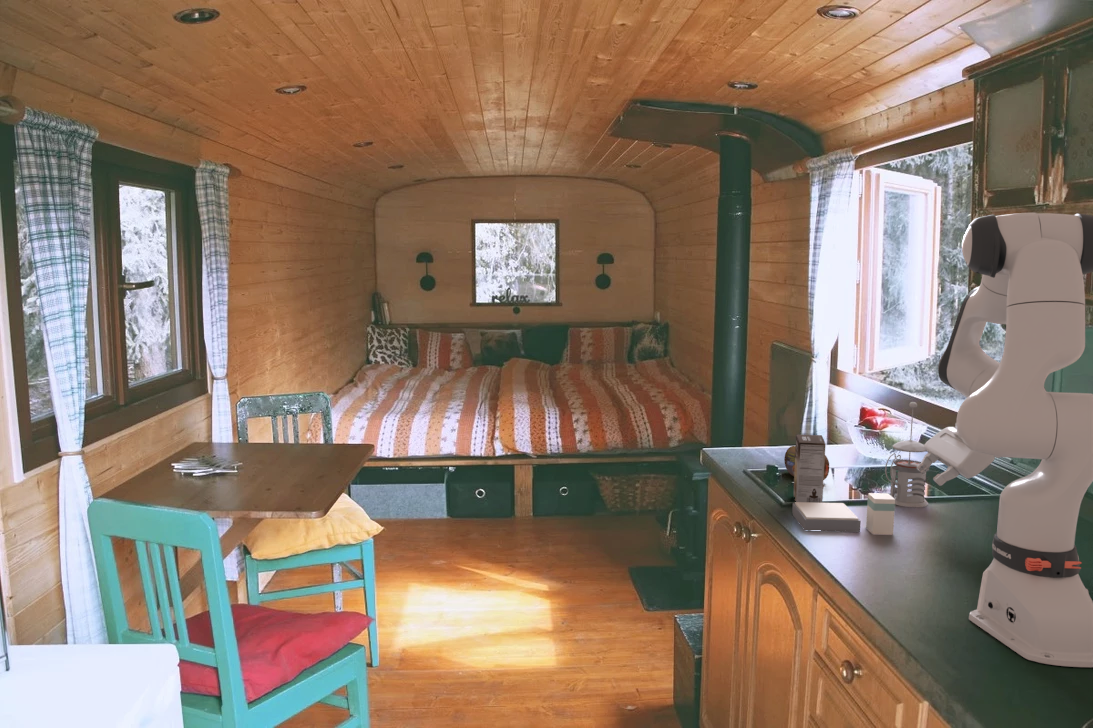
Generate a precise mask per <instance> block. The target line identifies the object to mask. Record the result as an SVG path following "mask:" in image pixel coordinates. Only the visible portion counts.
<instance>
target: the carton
mask: <svg viewBox="0 0 1093 728" xmlns="http://www.w3.org/2000/svg"><path fill="white" fill-rule="evenodd" d="M866 501H867V507H866V508H867V509H866V525H865V529H866V530H868V531H869V533H871V534H872V535H875V536H876V535H880V536H881V535H884V536H893V535H894V527H895V525H894V524H895V511H896V504H895V499H894V498H893V497H892V496H891V495H890V494H889V493H883V492H882V493H881V492H879V493H877V492H876V493H875V492H874V493H873V492H869V493H868V492H867V500H866Z"/></svg>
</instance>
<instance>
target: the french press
mask: <svg viewBox="0 0 1093 728" xmlns="http://www.w3.org/2000/svg"><path fill="white" fill-rule="evenodd" d="M908 407H909V408H912V410H911V423H910V426H911V427H910V436H909V437H910V439H909V440H907V439H906V440H901V441H898V442H896V443H894V444H892V447H893V449H894V450H895V451H900V452H904V453H909V455H908V459H905V458H904V459H901V458H902V455H901V454H898V455H897V456H896V453H892V454H890V455H889V457H888V458H887V461H886V463H885V468H884V473H885V477H886V479H887V480H888V481H889V482H890V494H889V495H891V496H892V497H893V498H894V499H895V506H896V505H897V506H900V507H907V508H923V507H927V506H928V505H929V502H928V501H927V500H926V499H925V495H926V492H925V491H926V487H925V486H926V480H927V472H926V473H924V474H922V473H921V472H920V471H919V470H918V469H917V468H916V467H917V466H918V465H919V464H920V463H921V462H922V461H918V460H914V459H913V460H912V459H911V453H924V452H925V453H926V452H927V451H926V450H925V449H924V445H925V443H921V442H919V441H917V440H913V439H912V434H913V418H914V408H917V407H918V403H917V402H915V401H911V402H910V403H908ZM893 455H894V459H893V460H892V462H891V465H890V469H889V470H890V471H889V472H890V474H889V475H890V478H891V479H889V476H888V474H887V471H888V470H887V468H888V467H887V466H888V463H889V460H890V459H891V457H892V456H893ZM898 457H899V458H898ZM897 471H898V472H897ZM909 480H910V481H909ZM909 485H910V486H909ZM896 486H897V487H896ZM908 490H909V491H908Z"/></svg>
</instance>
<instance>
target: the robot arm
mask: <svg viewBox="0 0 1093 728" xmlns="http://www.w3.org/2000/svg"><path fill="white" fill-rule="evenodd" d="M961 250H962V255H963V258H964V261H965V264H966V267H967V268H969V269H970V270H971V271H972V272H973V273H976V274H980V275H982V276H981V281H980V285H979V286H976V287H975V288H973V289H972V290H970V291H969V292H968V294H967V295H966V296H965V298H964V300H963V301H962V304H961V306H960V308H959V312H958V315H957V316H956V317H957V318H956V320H955V323H954V326H953V329H952V331H951V334H950V338H949V341H948V344H947V347H946V348H945V350H944V352H943V353H942V355H941V357H940V360H939V361H938V365H937V368H938V370H937V373H938V377H939V380H940V381H941V382H942V383H943V384H945V385H946V386H948V387H950V388H951V389H954V390H955V391H957V392H958V393H960V394H961V395H963V396H964V397H966V398H965V399H964V400H963V402H962V403H961V405H960V406H959V408H958V411H957V416H956V422H955V424H954V425H955V426H947V427H945V428H942V429H941V430H939V431H938V432H937V433H935V435H933V436H932V437H931V438H929V439H928V440H927V441H926V442H925V443H924V449H925V450H926V452H927V453H926V454H925V455H924V456H923V459H922V460H921V461H920V462H921V463H920V464H919V465H918V466H917V467H916V468H917V469H918V470H919V471H920V472H921V473H922V474H924V473H926V474H927V472H928V471H930V467H931V466H932V464H935V463H936V462H937V461H938V462H940V463H942V464H943V465H944V466H946V467H947V468H946V470H945V471H943V472H941V473H937V474H936V475H935V476H933V478H932V480H933V481H934V483H936V484H937V485H938V486H939V487H941V486H943V485H944V484H945V483H947V482H949V481H951V480H954V479H955V478H957V477H958V476H959V475H960V476H962V477H963V478H966V479H968V480H969V479H972V478H975V477H976V476H977V475H979V474H980V473H981V472H982V471H984V470H985V469H986V468H988V467H989V466H990V465H991V464H992V463H993V462H994V460H995V459H1000V458H1011V459H1012V458H1013V459H1014V458H1015V459H1033V460H1041V461H1040V463H1039V465H1038V466H1037V467H1036V468H1035V469H1034V470H1033V471H1032V472H1031V473H1029V474H1028V475H1026V476H1025V475H1024V476H1023V477H1020V478H1017V479H1015V480H1012V481H1011V482H1010V483H1008V484H1007V485H1006V486H1005V487H1004V488H1003V490H1002V491H1001V492H1000V495H999V501H998V502H999V504H998V515H997V527H996V528H997V529H996V532H995V533H994V534H993V540H992V543H991V547H992V550H991V551H992V552H991V556H992V557H993V559H992V561H991V563H990V564H989V566H988V567H987V568H985V569H984V571H983V573H982V578H981V581H980V582H981V583H980V588H979V595H978V600H977V607H976V609H974V610H971V611H970V612H969V615H968V620H969V621H971V623H973V624H975V625H976V626H978V628H979V627H980V629H982V630H983V631H984V632H986V633H988V634H989V635H990V636H991V637H993V638H995V639H997V640H998V641H999V642H1001V643H1002V644H1003V645H1005V646H1007V647H1008V648H1010V649H1011V650H1012V651H1014V652H1016V653H1017V654H1018V655H1019V656H1021V657H1023V658H1024V659H1026V660H1028V661H1031V662H1036V663H1039V664H1045V665H1052V666H1061V667H1073V668H1093V600H1092V598H1091V596H1090V594H1089V593H1090V592H1089V589H1088V588H1086V587H1085V585H1084V582H1083V581H1082V579H1081V577H1080V575H1079V573H1080V572H1081V569H1082V567H1080V565H1081V564H1082V561H1080V558H1079V557H1080V556H1079V554H1078V548H1077V546H1076V545H1075V542H1076V532H1077V524H1078V519H1079V513H1080V509H1081V504H1082V501H1083V498H1084V496H1085V494H1086V492H1087V490H1088V489H1089V487H1090V486H1091V485H1092V483H1093V393H1091V392H1090V393H1086V392H1060V391H1059V392H1057V391H1047V390H1046V388H1045V383H1046V379H1047V377H1048V376H1049V375H1051V373H1054V372H1057V371H1059V370H1063V369H1065V368H1067V367H1068V366H1071V365H1073V364H1074V363H1076V362H1077V361H1078V360H1079V359H1080V357H1082V355H1083V353H1084V351H1085V348H1086V293H1085V283H1084V275H1086V274H1087V275H1088V274H1091V273H1093V215H1090V214H1086V213H1075V214H1065V213H1045V212H1044V213H1043V212H1042V213H1041V212H1040V213H1038V212H1035V211H1034V212H1021V213H1020V212H1019V213H1010V214H1001V215H995V214H989V215H984V216H980V217H977V218H974V219H973V220H971V222H970V223H969V224H968V227H967V229H966V231H965V234H963V239H962V242H961ZM987 323H993V324H996V325H1005V338H1004V347H1003V353H1002V357H1001V359H1000V362H999V361H998V360H996V359H994V358H993V357H991V356H989V355H988V354H987V353H985V351H984V350H983V348H982V347H981V345H980V341H981V338H982V335H983V332H984V330H985V327H986V325H987Z"/></svg>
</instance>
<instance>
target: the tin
mask: <svg viewBox="0 0 1093 728" xmlns="http://www.w3.org/2000/svg"><path fill="white" fill-rule="evenodd" d="M795 448H796V445H792V446H790V447H788V448H787V449H786V452H785V453H784V466H785V469H786V471H787V472H788V474H790V475H791V476H793V477H794V472H795ZM829 473H830V462H829V459H828V457H827V455H826V454H825V464H824V480H823V481H825V480H827V477H828V476H829Z"/></svg>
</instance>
